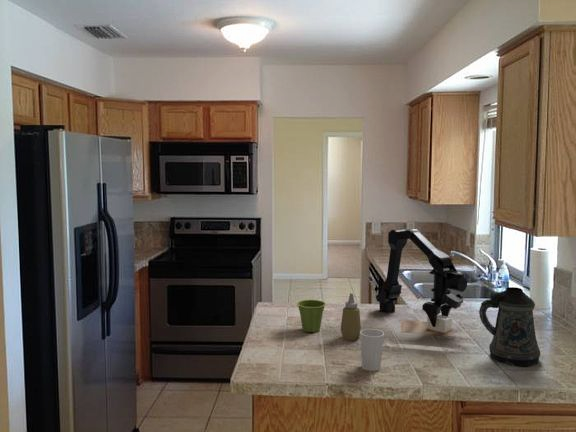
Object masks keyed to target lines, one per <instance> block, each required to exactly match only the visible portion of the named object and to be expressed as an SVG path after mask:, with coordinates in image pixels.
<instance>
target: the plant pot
mask: <svg viewBox="0 0 576 432" xmlns="http://www.w3.org/2000/svg"><path fill="white" fill-rule="evenodd" d="M296 305H297V307H298V311H299V315H300V321H301V327H302V330H303V331H304V332H305V333H317V332H319V331H320V330H321V326H322V320H323V315H324V311H325V306H326V305H327V303H326V302H325V301H323V300H318V299H304V300H303V299H302V300H298V301H297V303H296Z"/></svg>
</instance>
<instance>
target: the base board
mask: <svg viewBox="0 0 576 432" xmlns="http://www.w3.org/2000/svg"><path fill="white" fill-rule="evenodd" d="M400 327H401V328H400V333H404V334H418V335H429V336H441V337H453V338H454V332H453V329H452V330H450V331H448V332H446V333H443V332H439V331H435V330H431V329H428V328H427V321H419V320H407V319H406V320H404V319H401V325H400Z"/></svg>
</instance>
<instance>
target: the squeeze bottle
mask: <svg viewBox="0 0 576 432" xmlns="http://www.w3.org/2000/svg"><path fill="white" fill-rule="evenodd" d="M344 304H345V305H344V306H345V307H343V308H342V316H341V323H340V333H341V335H342V338H343V339H344V340H346V341H351V342H352V341H358V339H360V331H361V330H362V325H361V323H362V322H361V313H360V308H359V307H358V302H356V301H355V296H354V293H353V292H352V293H351V292H350V293H349V297H348V300H347V301H345V303H344Z"/></svg>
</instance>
